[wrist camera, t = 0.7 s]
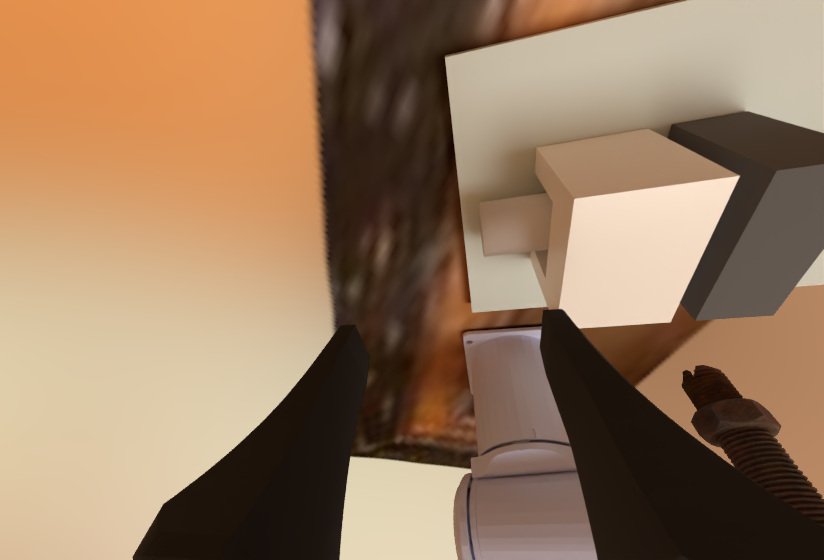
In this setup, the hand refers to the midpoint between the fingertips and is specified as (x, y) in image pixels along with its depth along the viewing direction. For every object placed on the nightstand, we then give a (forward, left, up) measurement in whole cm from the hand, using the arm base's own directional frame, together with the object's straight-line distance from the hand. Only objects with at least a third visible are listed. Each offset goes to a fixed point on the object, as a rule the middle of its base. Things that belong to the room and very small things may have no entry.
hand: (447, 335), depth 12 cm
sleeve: (0, -7, -9) cm, 12 cm away
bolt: (-19, -20, -10) cm, 29 cm away
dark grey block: (0, -12, -9) cm, 15 cm away
